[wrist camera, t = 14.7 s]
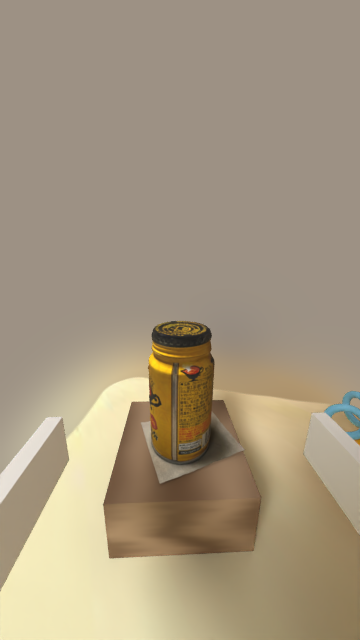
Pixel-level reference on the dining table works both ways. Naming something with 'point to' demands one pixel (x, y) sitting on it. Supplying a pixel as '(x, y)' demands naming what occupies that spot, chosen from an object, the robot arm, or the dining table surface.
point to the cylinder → (348, 413)
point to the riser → (178, 500)
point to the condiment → (183, 402)
